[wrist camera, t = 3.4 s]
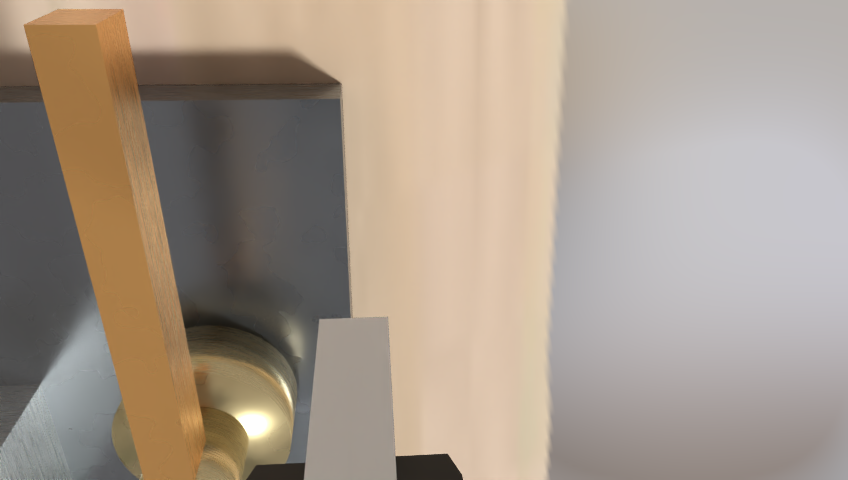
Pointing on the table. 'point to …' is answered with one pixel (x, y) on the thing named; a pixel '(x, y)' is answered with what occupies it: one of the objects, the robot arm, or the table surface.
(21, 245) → the levelling base
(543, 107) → the table surface
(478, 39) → the table surface
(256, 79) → the table surface
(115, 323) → the door handle
